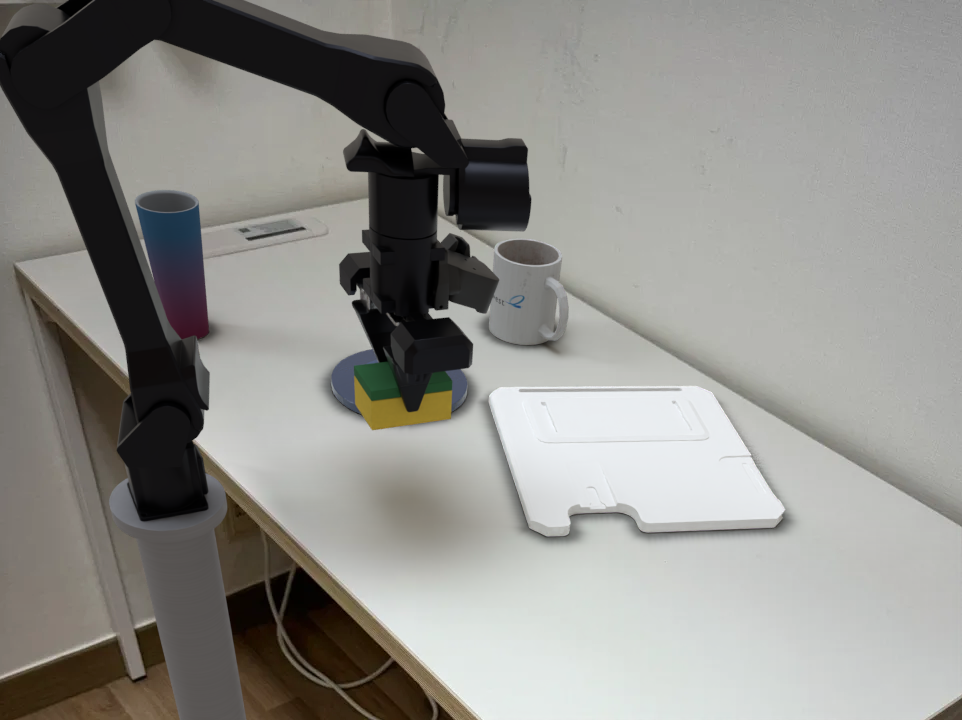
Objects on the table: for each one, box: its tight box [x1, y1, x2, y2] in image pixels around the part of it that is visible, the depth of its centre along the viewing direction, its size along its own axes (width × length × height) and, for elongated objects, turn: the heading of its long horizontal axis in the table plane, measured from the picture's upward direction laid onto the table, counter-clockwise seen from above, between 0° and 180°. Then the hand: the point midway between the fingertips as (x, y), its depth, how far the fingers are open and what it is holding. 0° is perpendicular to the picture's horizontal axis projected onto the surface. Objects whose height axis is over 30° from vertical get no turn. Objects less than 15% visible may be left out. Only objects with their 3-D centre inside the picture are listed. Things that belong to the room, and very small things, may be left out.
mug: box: [488, 237, 570, 346], centre depth 125 cm, size 12×9×10 cm
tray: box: [488, 385, 786, 537], centre depth 110 cm, size 28×28×2 cm
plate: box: [330, 348, 468, 416], centre depth 116 cm, size 16×16×1 cm
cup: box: [134, 189, 210, 340], centre depth 115 cm, size 7×7×15 cm
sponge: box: [354, 362, 452, 431], centre depth 93 cm, size 8×5×4 cm, turn 116°
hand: (402, 397), depth 93 cm, fingers closed on sponge, 5 cm apart
